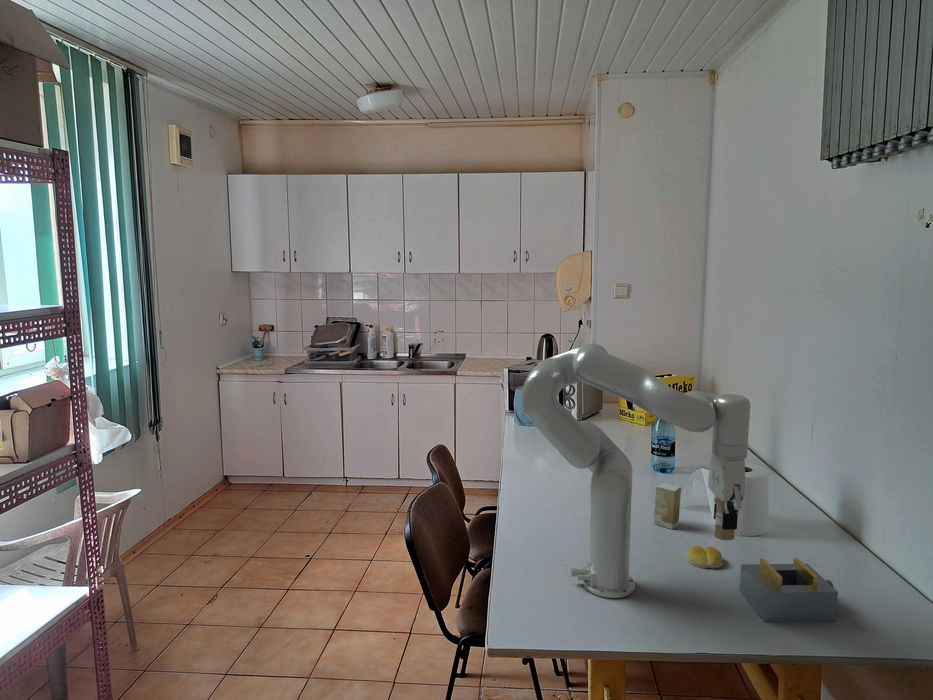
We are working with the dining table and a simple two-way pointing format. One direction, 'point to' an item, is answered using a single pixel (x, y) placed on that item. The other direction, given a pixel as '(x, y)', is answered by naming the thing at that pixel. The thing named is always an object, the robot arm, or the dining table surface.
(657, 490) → the skincare box
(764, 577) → the grey holder box
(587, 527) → the dining table surface
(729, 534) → the sprinkles bottle
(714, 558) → the bread roll
